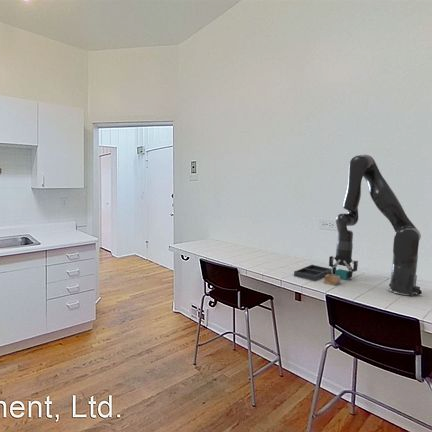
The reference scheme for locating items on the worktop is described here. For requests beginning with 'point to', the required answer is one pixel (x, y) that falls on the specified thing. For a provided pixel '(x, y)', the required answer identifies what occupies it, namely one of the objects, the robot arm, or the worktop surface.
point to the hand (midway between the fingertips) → (341, 275)
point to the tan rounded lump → (332, 279)
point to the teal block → (342, 273)
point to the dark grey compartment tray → (312, 272)
